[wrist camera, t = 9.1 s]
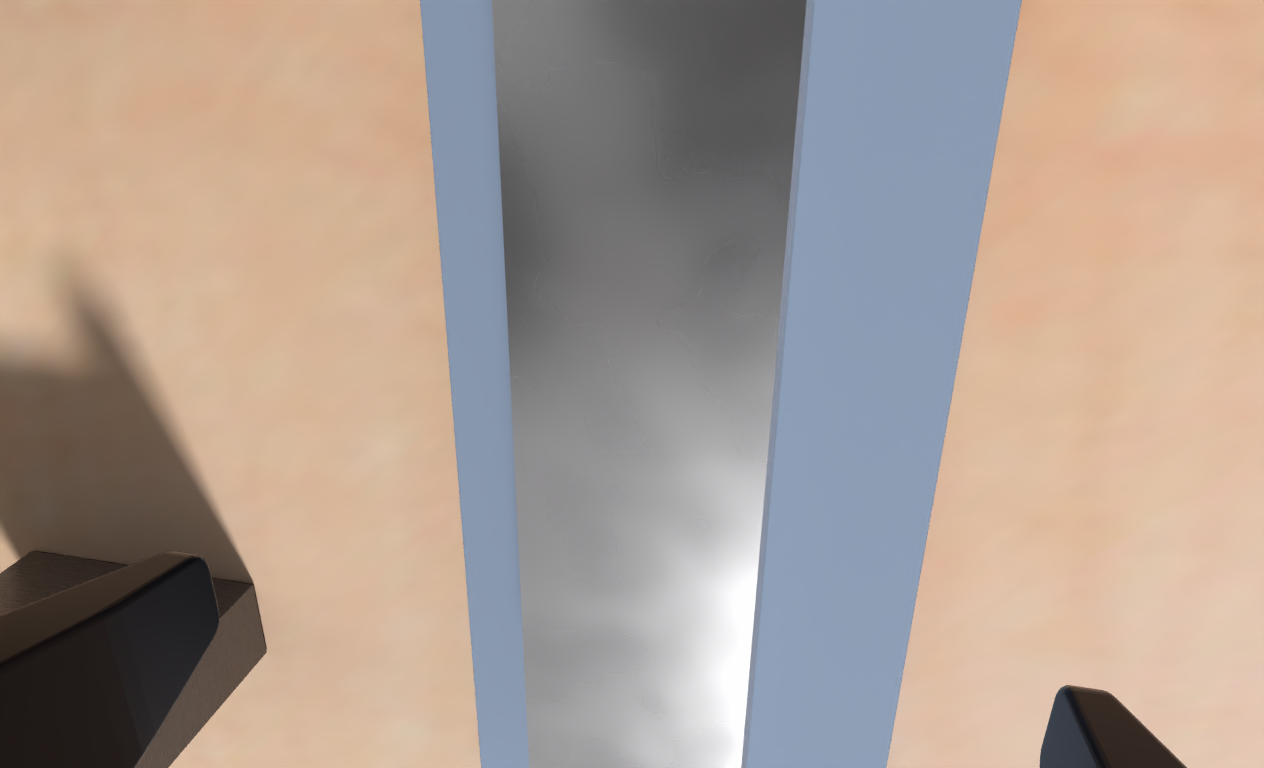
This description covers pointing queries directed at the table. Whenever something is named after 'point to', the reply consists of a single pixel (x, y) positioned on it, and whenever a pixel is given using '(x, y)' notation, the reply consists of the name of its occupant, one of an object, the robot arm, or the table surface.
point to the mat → (812, 363)
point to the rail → (646, 358)
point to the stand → (212, 677)
